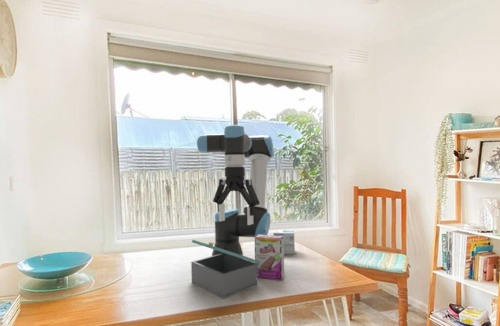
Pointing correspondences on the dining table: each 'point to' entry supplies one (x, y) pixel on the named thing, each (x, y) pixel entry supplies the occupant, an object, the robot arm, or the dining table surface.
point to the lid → (224, 251)
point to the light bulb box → (287, 240)
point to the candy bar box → (269, 256)
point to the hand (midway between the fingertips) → (235, 222)
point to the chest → (224, 274)
